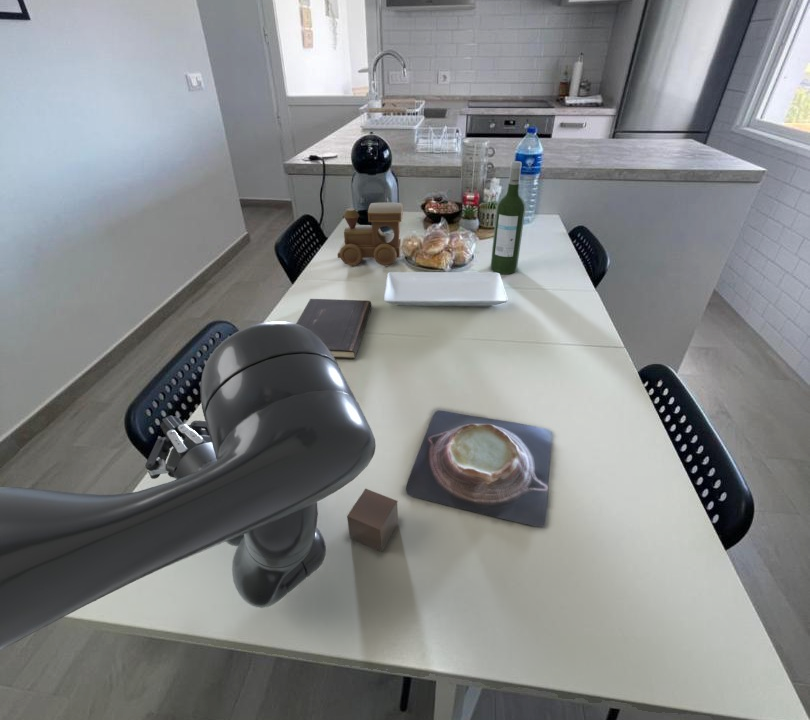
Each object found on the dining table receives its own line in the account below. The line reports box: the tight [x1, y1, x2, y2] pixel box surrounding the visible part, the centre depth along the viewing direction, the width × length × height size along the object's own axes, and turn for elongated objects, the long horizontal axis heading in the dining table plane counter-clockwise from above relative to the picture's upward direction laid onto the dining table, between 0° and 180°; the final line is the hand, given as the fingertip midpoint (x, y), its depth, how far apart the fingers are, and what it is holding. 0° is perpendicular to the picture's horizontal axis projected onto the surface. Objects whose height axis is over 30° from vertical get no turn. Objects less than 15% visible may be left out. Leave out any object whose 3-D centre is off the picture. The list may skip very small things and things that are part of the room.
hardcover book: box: [295, 298, 373, 360], centre depth 106 cm, size 16×23×2 cm
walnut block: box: [346, 488, 399, 553], centre depth 61 cm, size 5×5×5 cm
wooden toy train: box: [337, 201, 404, 267], centre depth 136 cm, size 20×11×17 cm, turn 88°
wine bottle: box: [490, 160, 527, 275], centre depth 126 cm, size 8×8×30 cm
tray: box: [383, 271, 509, 307], centre depth 119 cm, size 17×31×4 cm, turn 88°
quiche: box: [405, 409, 552, 528], centre depth 72 cm, size 21×20×4 cm
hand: (167, 421), depth 72 cm, fingers closed
